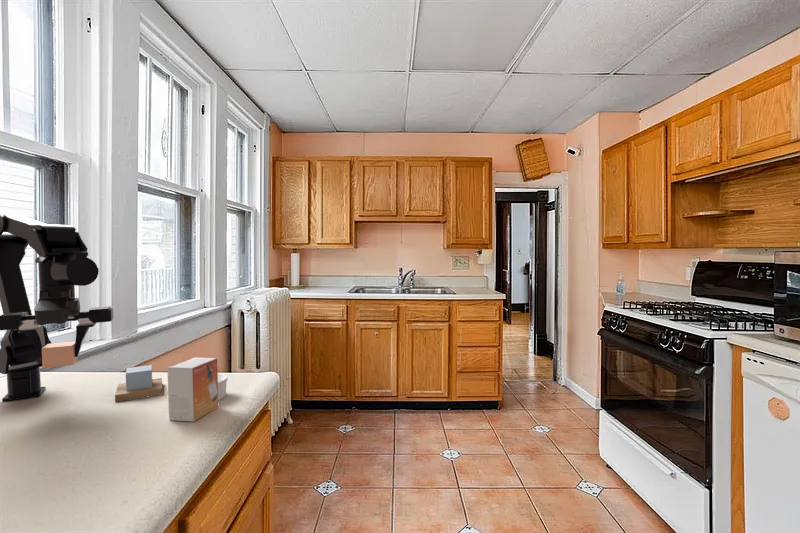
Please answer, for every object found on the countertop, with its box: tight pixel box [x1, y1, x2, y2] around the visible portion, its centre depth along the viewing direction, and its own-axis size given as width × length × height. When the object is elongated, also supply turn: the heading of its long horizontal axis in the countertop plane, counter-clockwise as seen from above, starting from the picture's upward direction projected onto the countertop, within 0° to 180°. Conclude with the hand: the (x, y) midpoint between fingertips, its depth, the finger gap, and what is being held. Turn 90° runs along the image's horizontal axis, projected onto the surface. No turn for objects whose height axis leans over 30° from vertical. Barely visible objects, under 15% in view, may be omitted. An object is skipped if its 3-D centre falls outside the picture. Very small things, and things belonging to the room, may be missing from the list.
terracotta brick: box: [41, 340, 79, 369], centre depth 90 cm, size 5×5×4 cm
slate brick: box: [125, 364, 153, 391], centre depth 99 cm, size 5×5×4 cm
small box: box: [167, 356, 219, 422], centre depth 85 cm, size 8×6×10 cm
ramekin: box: [218, 373, 228, 401], centre depth 95 cm, size 9×9×4 cm
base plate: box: [114, 377, 164, 403], centre depth 99 cm, size 9×9×2 cm
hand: (60, 358), depth 90 cm, fingers closed on terracotta brick, 5 cm apart
